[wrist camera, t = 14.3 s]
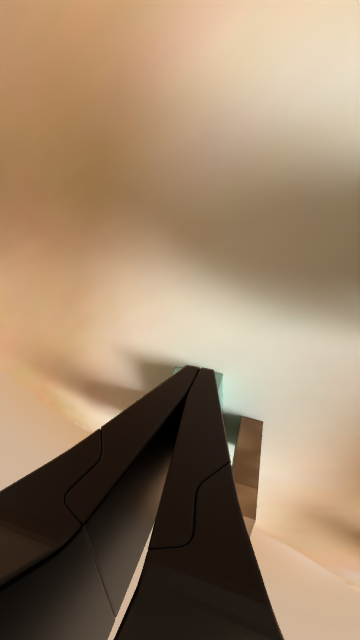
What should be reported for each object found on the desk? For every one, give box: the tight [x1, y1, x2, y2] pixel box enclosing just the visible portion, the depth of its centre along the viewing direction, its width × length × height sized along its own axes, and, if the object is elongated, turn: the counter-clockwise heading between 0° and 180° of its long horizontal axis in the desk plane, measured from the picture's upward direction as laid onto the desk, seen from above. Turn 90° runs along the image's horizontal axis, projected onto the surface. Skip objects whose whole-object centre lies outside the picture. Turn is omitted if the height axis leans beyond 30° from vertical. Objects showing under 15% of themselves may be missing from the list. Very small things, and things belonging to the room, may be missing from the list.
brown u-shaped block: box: [232, 417, 263, 537], centre depth 24 cm, size 10×4×8 cm, turn 88°
